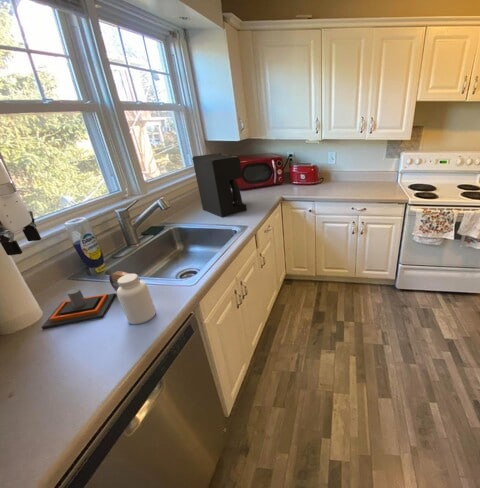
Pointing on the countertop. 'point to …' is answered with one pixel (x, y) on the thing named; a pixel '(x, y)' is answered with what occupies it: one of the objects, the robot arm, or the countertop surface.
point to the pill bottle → (135, 299)
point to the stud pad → (85, 308)
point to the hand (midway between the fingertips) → (25, 247)
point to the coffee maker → (219, 183)
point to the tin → (116, 278)
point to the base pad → (73, 318)
